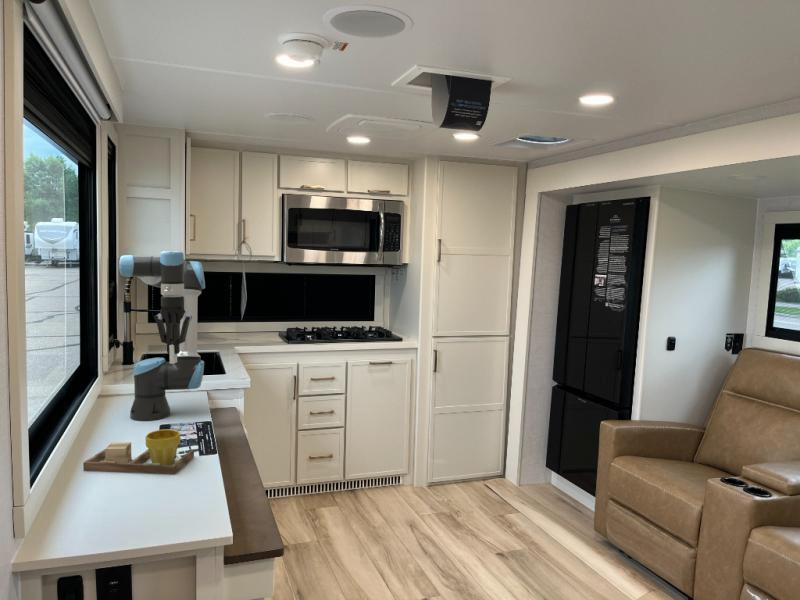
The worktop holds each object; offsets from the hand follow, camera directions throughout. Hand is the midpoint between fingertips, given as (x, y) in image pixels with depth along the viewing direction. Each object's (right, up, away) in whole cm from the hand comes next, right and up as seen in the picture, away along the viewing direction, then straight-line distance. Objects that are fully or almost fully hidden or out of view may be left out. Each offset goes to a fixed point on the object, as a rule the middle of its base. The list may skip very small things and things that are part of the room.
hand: (173, 362), depth 205 cm
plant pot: (+3, -31, -15) cm, 35 cm away
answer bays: (-5, -31, -16) cm, 35 cm away
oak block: (-12, -31, -16) cm, 36 cm away
